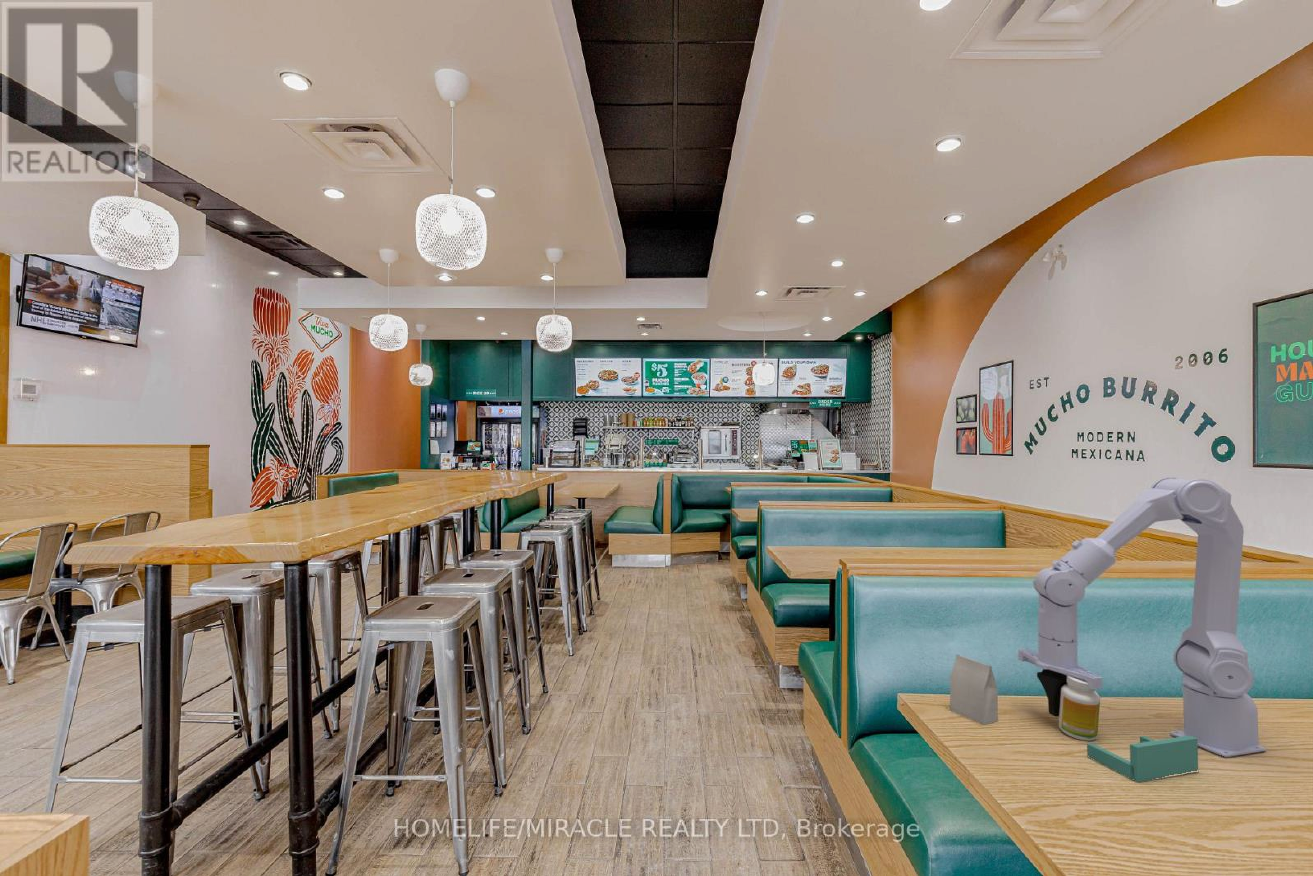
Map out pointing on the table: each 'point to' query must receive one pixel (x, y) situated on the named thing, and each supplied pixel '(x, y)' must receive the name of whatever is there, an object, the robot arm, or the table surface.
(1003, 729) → the table surface
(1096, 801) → the table surface
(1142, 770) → the dock
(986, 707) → the tea bag
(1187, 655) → the robot arm
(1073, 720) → the supplement bottle
